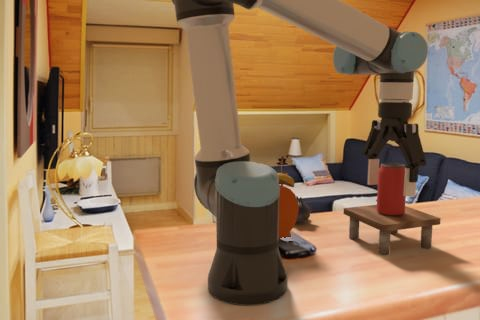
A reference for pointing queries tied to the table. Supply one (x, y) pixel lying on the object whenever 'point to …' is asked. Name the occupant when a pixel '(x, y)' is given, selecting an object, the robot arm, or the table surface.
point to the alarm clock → (286, 205)
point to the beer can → (391, 189)
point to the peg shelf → (391, 224)
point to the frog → (303, 210)
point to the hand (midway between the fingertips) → (389, 190)
